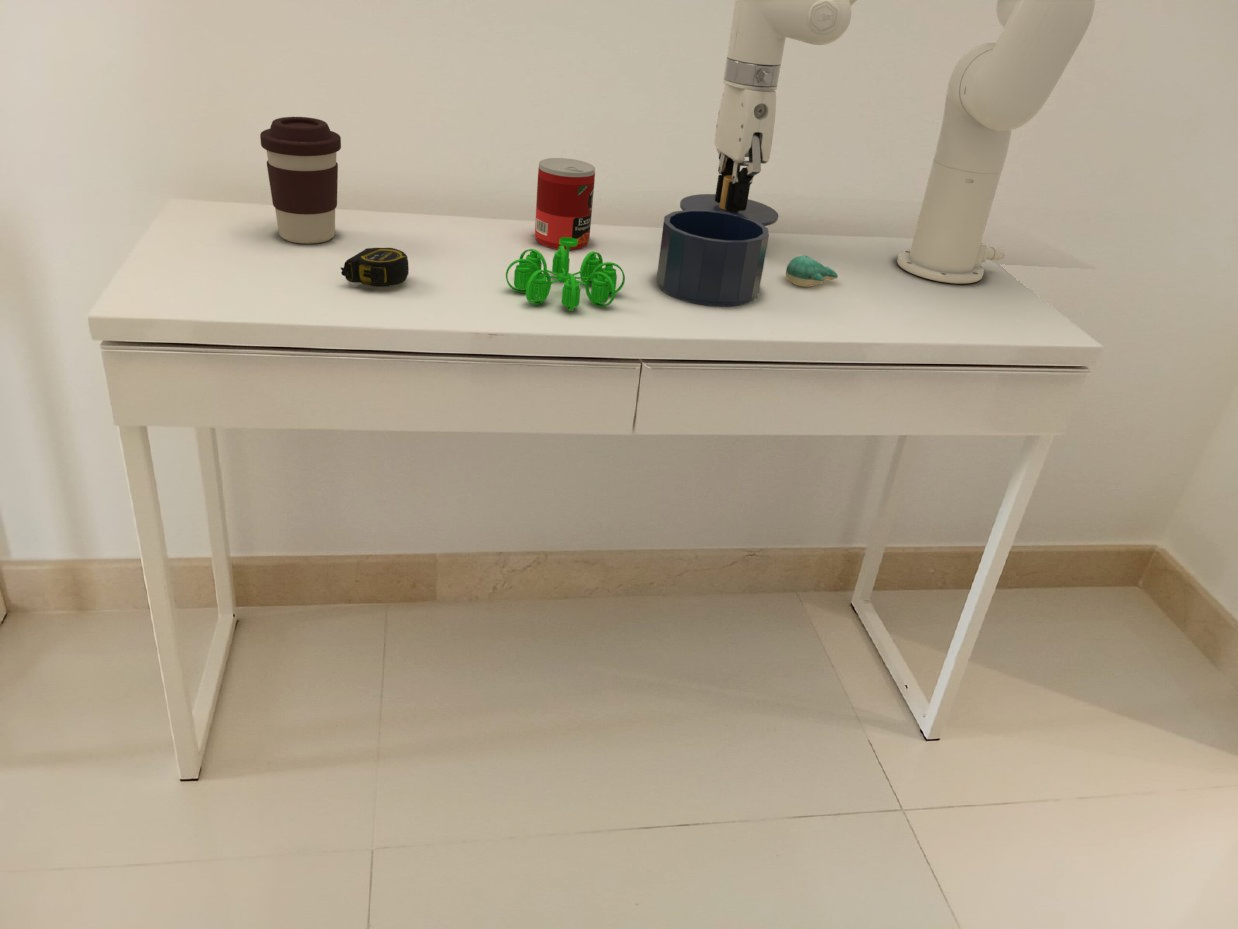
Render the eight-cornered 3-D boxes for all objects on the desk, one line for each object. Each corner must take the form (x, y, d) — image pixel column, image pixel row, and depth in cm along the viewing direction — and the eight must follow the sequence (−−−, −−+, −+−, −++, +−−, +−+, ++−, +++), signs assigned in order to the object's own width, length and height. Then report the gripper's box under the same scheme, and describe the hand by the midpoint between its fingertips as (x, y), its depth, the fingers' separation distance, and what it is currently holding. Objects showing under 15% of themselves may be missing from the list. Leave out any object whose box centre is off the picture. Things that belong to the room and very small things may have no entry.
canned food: (582, 253, 139) (588, 175, 134) (527, 245, 140) (531, 166, 135) (594, 238, 146) (601, 162, 140) (542, 230, 147) (546, 154, 141)
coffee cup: (287, 220, 139) (279, 110, 132) (355, 230, 138) (351, 119, 131) (255, 241, 131) (244, 124, 123) (328, 252, 130) (321, 134, 122)
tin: (732, 268, 140) (742, 209, 136) (774, 305, 129) (786, 241, 125) (642, 270, 136) (649, 209, 131) (677, 308, 125) (686, 242, 120)
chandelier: (633, 317, 120) (639, 263, 117) (509, 314, 118) (511, 258, 114) (613, 274, 133) (618, 223, 130) (501, 270, 130) (503, 218, 127)
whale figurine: (776, 275, 139) (781, 249, 137) (822, 274, 142) (827, 248, 140) (796, 290, 135) (801, 264, 133) (843, 289, 137) (848, 262, 135)
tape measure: (368, 269, 126) (367, 241, 124) (418, 279, 124) (418, 250, 123) (341, 286, 120) (339, 256, 118) (393, 296, 119) (392, 266, 117)
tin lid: (752, 201, 155) (758, 165, 152) (793, 231, 143) (801, 193, 141) (665, 200, 150) (670, 162, 148) (701, 230, 139) (707, 191, 136)
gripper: (802, 88, 132) (776, 223, 141) (751, 65, 145) (731, 190, 154) (751, 85, 129) (728, 223, 138) (704, 62, 142) (686, 189, 152)
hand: (730, 204), depth 146 cm, fingers closed on tin lid, 3 cm apart
